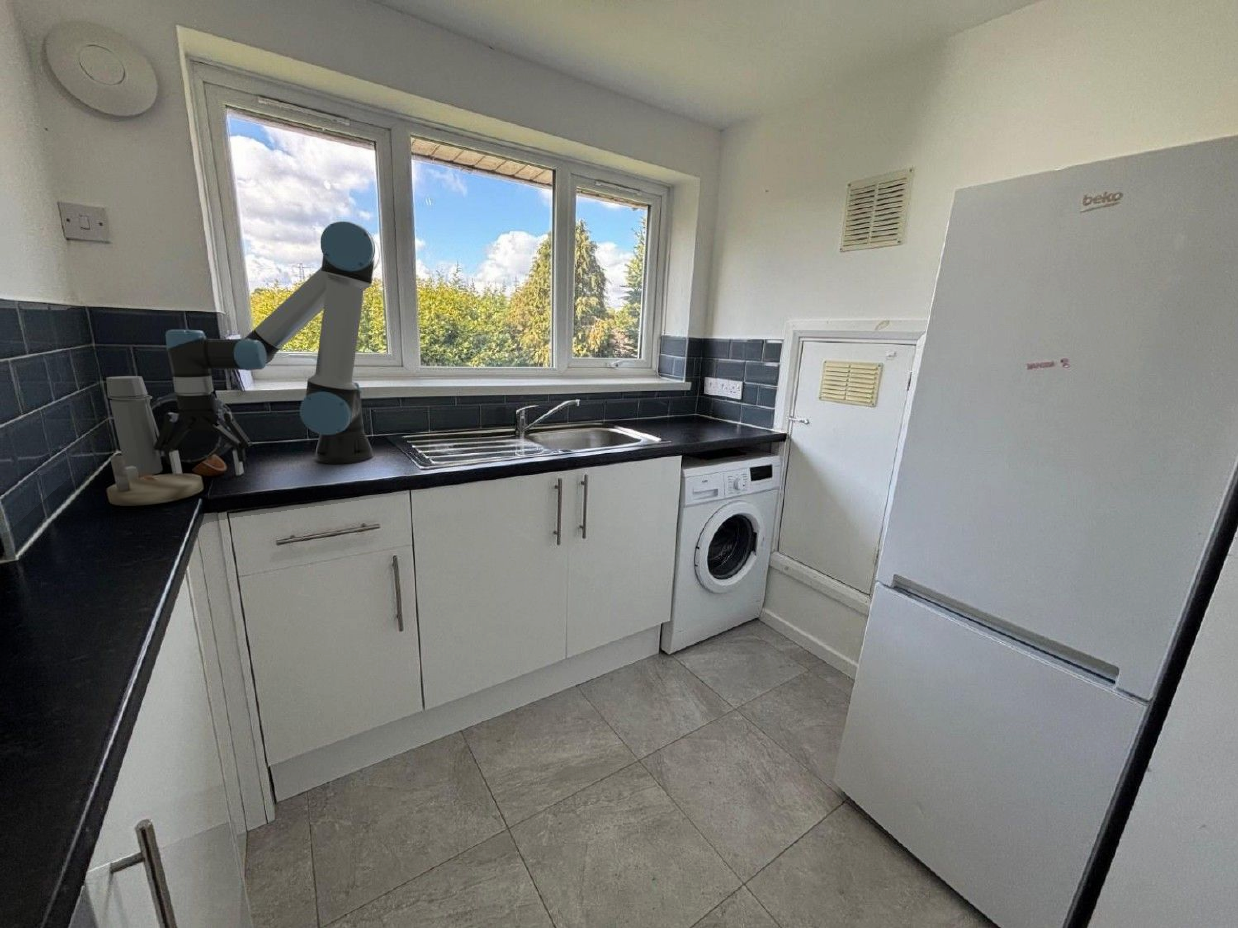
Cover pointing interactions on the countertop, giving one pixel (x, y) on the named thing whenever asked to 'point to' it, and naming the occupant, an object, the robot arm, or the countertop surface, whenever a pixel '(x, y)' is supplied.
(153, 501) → the beige round piece
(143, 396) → the water bottle
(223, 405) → the grey dotted bowl
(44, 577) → the countertop surface
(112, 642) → the countertop surface
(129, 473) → the grey rectangular block
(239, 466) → the robot arm
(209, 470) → the fruit slice
